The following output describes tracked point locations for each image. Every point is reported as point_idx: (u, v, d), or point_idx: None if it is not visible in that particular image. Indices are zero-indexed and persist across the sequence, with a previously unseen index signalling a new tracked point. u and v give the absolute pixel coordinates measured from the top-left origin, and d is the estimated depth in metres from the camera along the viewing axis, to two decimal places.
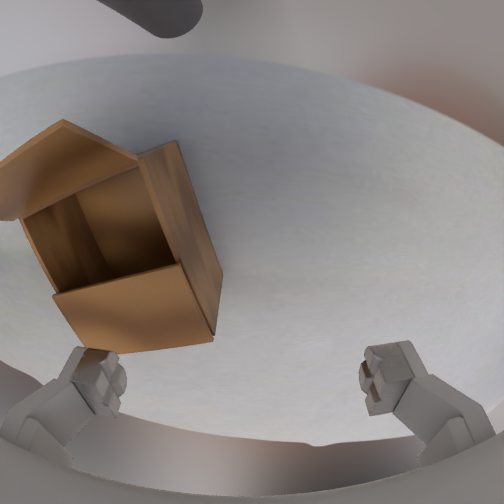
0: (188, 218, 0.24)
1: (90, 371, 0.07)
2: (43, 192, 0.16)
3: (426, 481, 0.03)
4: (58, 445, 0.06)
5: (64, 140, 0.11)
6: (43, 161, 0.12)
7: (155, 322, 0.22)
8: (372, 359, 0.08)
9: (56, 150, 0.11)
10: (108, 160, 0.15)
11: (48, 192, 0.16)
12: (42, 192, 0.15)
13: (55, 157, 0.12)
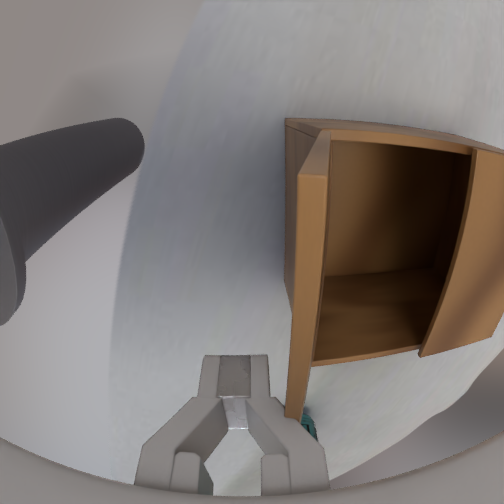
0: (400, 128, 0.15)
1: (240, 381, 0.07)
2: None
3: (426, 481, 0.03)
4: (207, 474, 0.06)
5: None
6: (320, 290, 0.06)
7: None
8: None
9: (324, 246, 0.06)
10: None
11: None
12: None
13: None
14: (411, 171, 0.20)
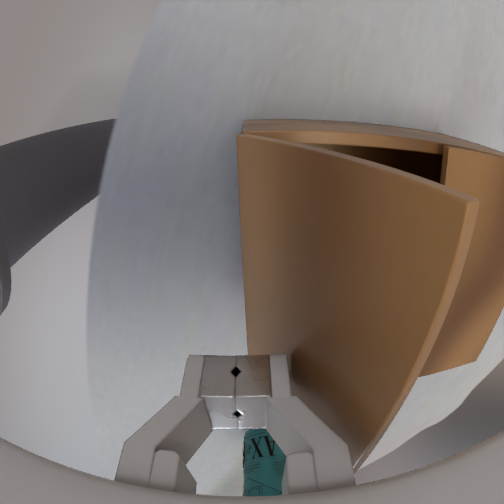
0: (366, 126, 0.14)
1: (222, 381, 0.07)
2: None
3: (426, 481, 0.03)
4: (189, 473, 0.06)
5: None
6: None
7: (498, 240, 0.10)
8: (236, 369, 0.08)
9: None
10: None
11: None
12: None
13: None
14: None
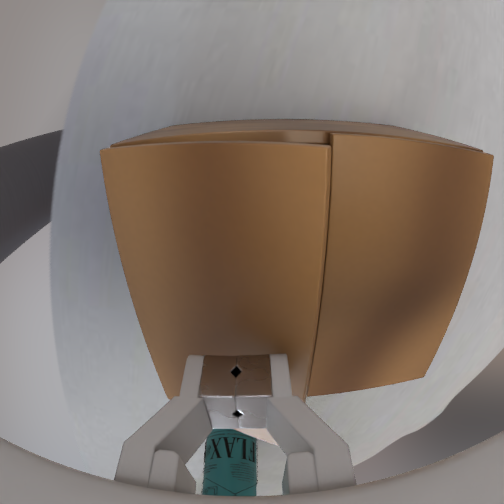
0: (276, 122, 0.14)
1: (221, 381, 0.07)
2: None
3: (426, 481, 0.03)
4: (188, 473, 0.06)
5: None
6: None
7: (429, 242, 0.10)
8: (236, 369, 0.08)
9: None
10: None
11: None
12: None
13: None
14: None
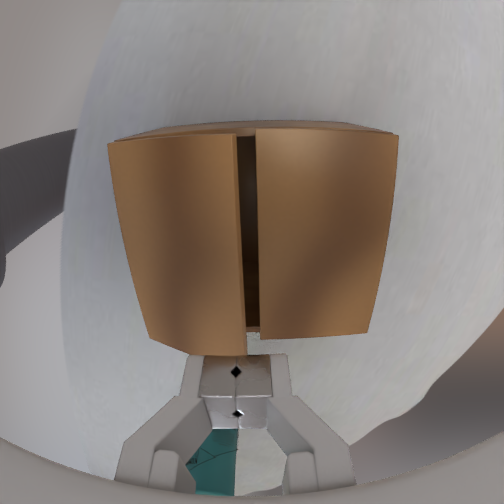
0: (235, 123, 0.18)
1: (221, 381, 0.07)
2: None
3: (426, 481, 0.03)
4: (188, 473, 0.06)
5: None
6: None
7: (342, 205, 0.15)
8: (236, 369, 0.08)
9: None
10: None
11: None
12: None
13: None
14: None
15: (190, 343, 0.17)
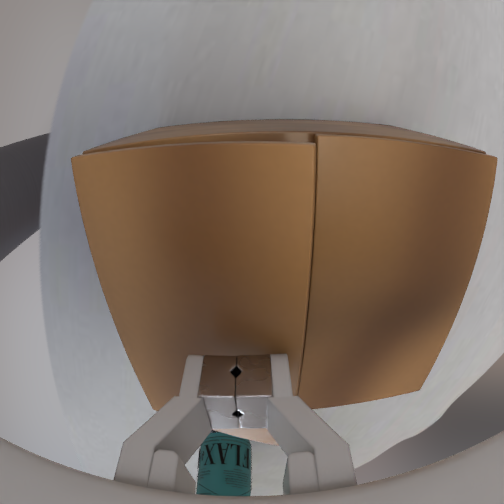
0: (263, 123, 0.13)
1: (221, 381, 0.07)
2: None
3: (426, 481, 0.03)
4: (188, 473, 0.06)
5: None
6: None
7: (426, 252, 0.10)
8: (237, 369, 0.08)
9: None
10: None
11: None
12: None
13: None
14: None
15: None
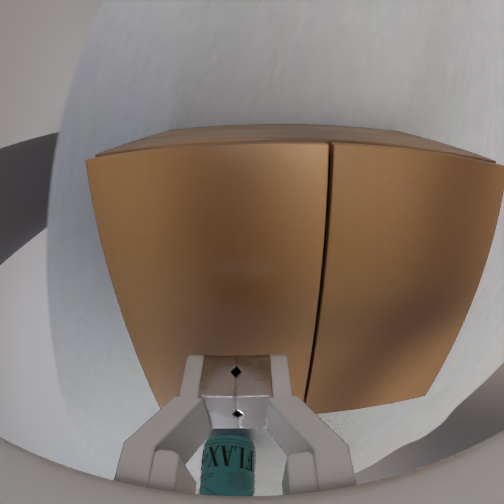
0: (276, 128, 0.13)
1: (221, 381, 0.07)
2: None
3: (426, 481, 0.03)
4: (188, 473, 0.06)
5: None
6: None
7: (436, 260, 0.09)
8: (236, 369, 0.08)
9: None
10: None
11: None
12: None
13: None
14: None
15: None
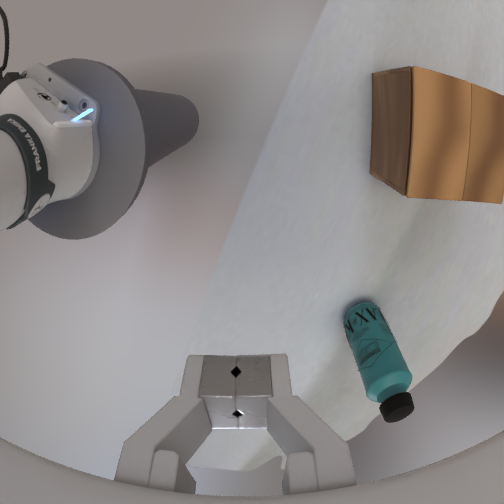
0: None
1: (221, 381, 0.07)
2: None
3: (426, 481, 0.03)
4: (188, 473, 0.06)
5: None
6: None
7: (496, 126, 0.21)
8: (236, 369, 0.08)
9: None
10: None
11: None
12: None
13: None
14: None
15: (438, 188, 0.25)
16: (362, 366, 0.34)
